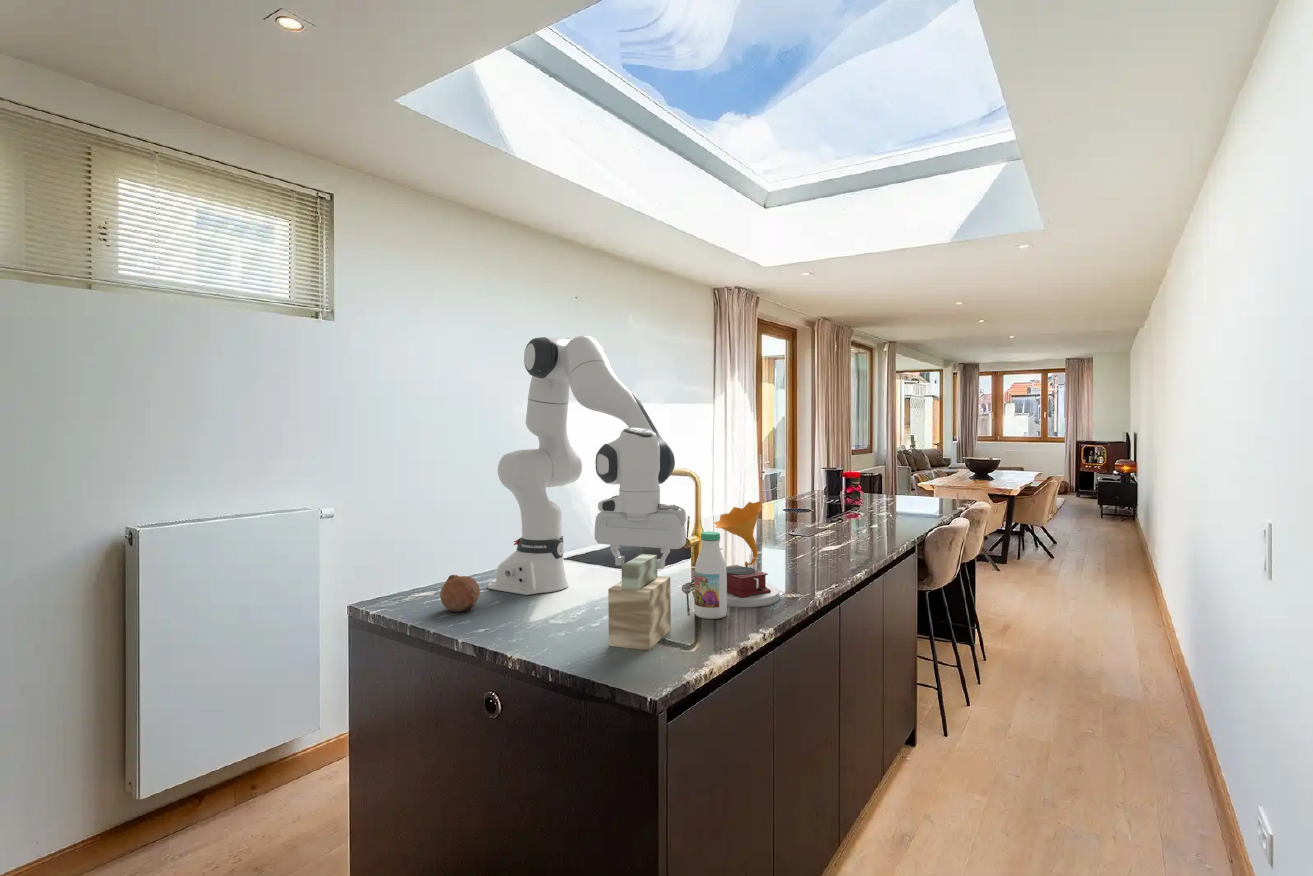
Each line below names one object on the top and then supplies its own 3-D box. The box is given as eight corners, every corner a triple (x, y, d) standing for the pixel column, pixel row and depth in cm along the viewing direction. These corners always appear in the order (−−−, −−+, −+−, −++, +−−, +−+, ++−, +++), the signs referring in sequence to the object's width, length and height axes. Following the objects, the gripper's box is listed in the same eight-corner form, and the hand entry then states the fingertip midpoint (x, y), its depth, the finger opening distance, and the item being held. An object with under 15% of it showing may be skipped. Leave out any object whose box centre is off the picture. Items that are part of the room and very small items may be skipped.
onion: (445, 623, 171) (427, 586, 171) (476, 605, 177) (459, 570, 177) (460, 617, 164) (442, 579, 164) (492, 599, 170) (475, 562, 171)
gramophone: (745, 583, 196) (745, 496, 196) (796, 599, 179) (796, 504, 178) (686, 593, 185) (686, 501, 185) (734, 612, 168) (734, 510, 167)
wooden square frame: (649, 650, 141) (648, 592, 141) (608, 645, 144) (608, 589, 144) (670, 630, 154) (670, 577, 154) (633, 626, 157) (633, 574, 157)
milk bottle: (709, 608, 171) (708, 528, 170) (733, 615, 165) (733, 532, 165) (688, 615, 166) (687, 532, 165) (712, 622, 160) (712, 536, 159)
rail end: (637, 609, 143) (637, 566, 142) (621, 607, 144) (621, 565, 143) (657, 594, 154) (657, 555, 154) (642, 593, 155) (642, 554, 155)
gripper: (690, 503, 148) (690, 566, 148) (603, 499, 154) (603, 560, 155) (681, 507, 142) (681, 573, 142) (591, 503, 149) (591, 566, 149)
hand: (639, 566), depth 149 cm, fingers open, 8 cm apart
